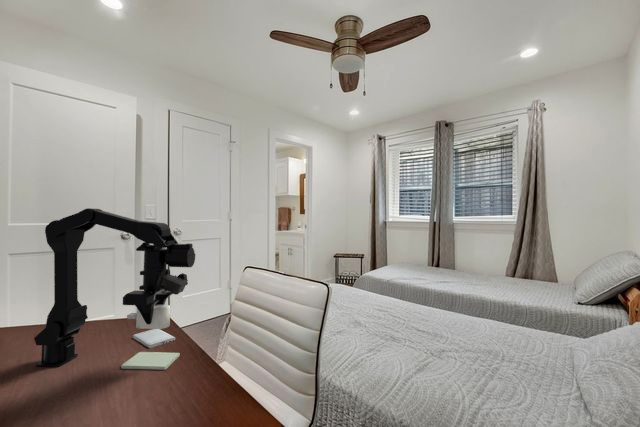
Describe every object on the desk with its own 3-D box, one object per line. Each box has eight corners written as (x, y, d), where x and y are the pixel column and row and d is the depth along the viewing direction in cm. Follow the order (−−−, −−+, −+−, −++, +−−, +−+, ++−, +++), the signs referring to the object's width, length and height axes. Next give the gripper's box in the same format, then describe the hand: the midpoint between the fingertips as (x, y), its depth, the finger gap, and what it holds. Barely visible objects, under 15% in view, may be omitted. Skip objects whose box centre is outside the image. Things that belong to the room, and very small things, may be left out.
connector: (124, 328, 81) (125, 308, 81) (133, 322, 85) (134, 304, 85) (165, 329, 81) (165, 309, 81) (172, 323, 85) (173, 305, 85)
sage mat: (121, 368, 79) (121, 365, 79) (139, 354, 87) (139, 351, 87) (165, 369, 79) (165, 366, 79) (179, 355, 87) (179, 352, 87)
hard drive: (132, 334, 98) (149, 344, 91) (158, 327, 105) (175, 336, 97) (132, 339, 98) (149, 349, 91) (157, 332, 105) (175, 341, 97)
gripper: (166, 273, 74) (163, 335, 73) (197, 262, 92) (195, 311, 92) (122, 272, 74) (119, 334, 73) (162, 261, 92) (160, 310, 92)
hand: (153, 321), depth 83 cm, fingers closed on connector, 4 cm apart
